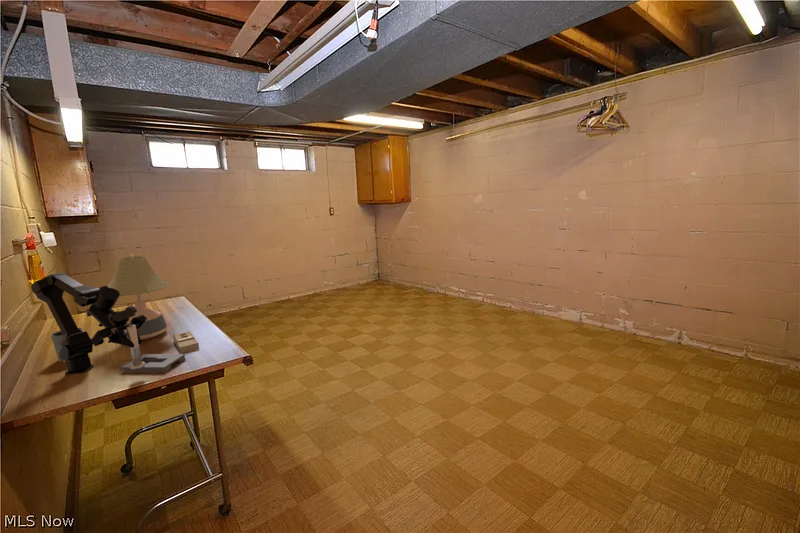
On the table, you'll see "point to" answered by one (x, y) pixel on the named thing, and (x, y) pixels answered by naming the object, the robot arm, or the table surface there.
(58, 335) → the drinking glass
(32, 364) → the table surface
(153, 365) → the keyhole plate
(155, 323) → the desk lamp
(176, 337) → the electrical outlet
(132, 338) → the steel post
